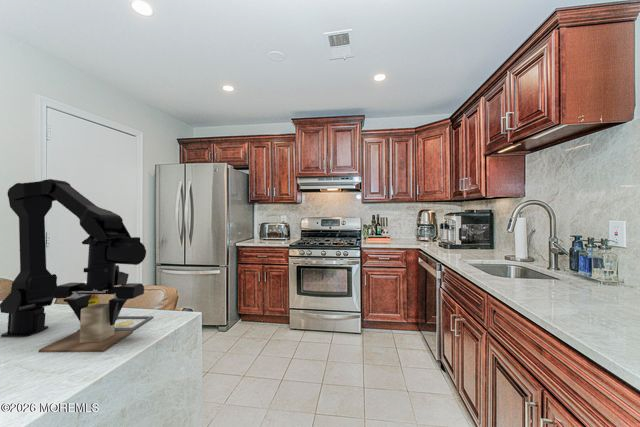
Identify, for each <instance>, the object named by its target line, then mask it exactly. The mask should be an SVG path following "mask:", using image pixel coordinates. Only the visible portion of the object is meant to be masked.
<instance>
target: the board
mask: <svg viewBox="0 0 640 427" xmlns="http://www.w3.org/2000/svg"><path fill="white" fill-rule="evenodd" d="M133 333H134V331H114V335H113V336H111V337H109V338H108V339H106V340H104V341H102V342H87V343H80V331H78V330H77V331H75V332H73V333H70V334H69V335H65V337H62V338H61V339H59V340H56V341H54V342H52V343H50V344H48V345H46V346H44V347H41V348H40V349H38V350H37V351H38V353H105V352H106V351H107V350H109V349H111V348H112V347H113V346H115V345H116V344H118V343H119V342H121V341H122V340H124V339H126V338H127V337H129V336H130V335H132V334H133Z"/></svg>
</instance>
